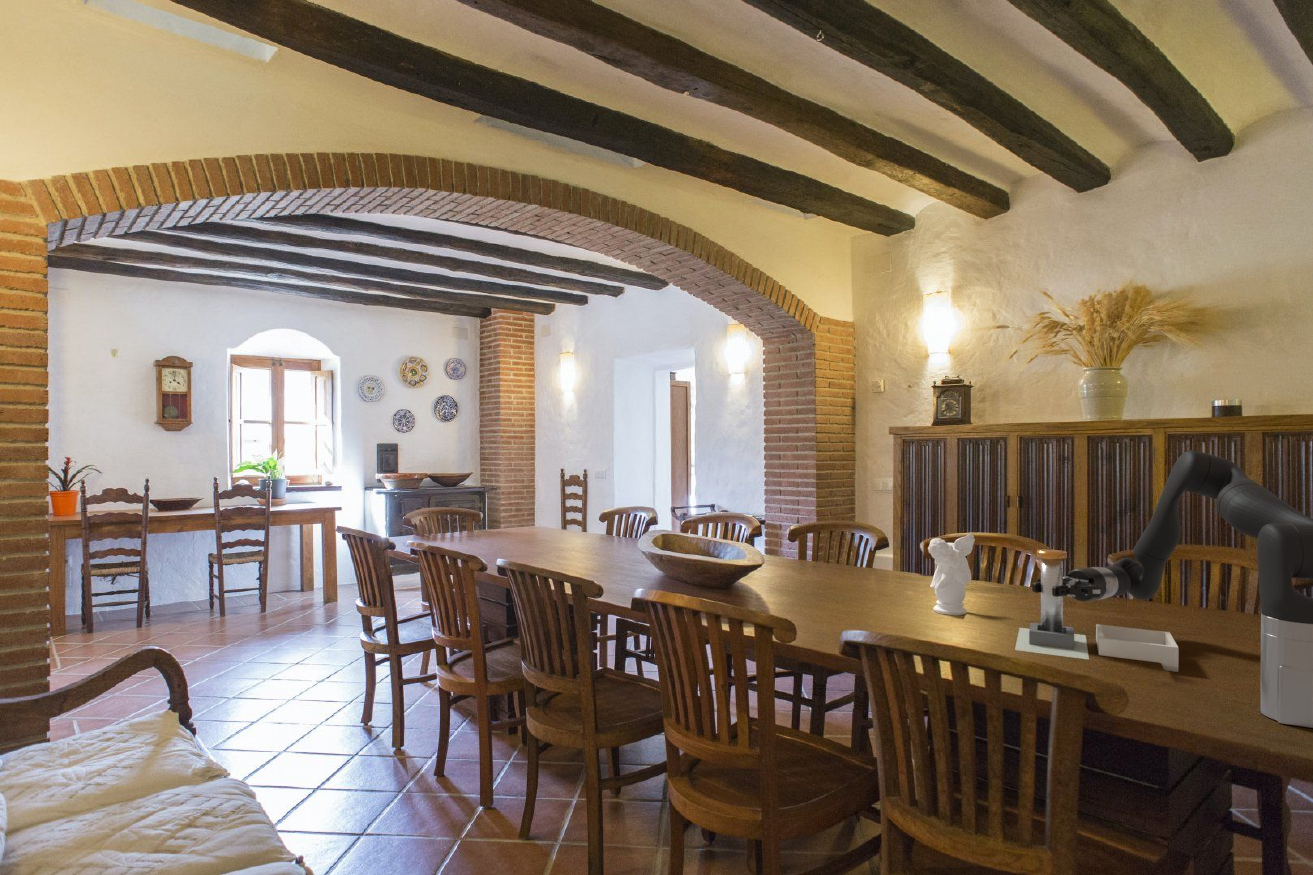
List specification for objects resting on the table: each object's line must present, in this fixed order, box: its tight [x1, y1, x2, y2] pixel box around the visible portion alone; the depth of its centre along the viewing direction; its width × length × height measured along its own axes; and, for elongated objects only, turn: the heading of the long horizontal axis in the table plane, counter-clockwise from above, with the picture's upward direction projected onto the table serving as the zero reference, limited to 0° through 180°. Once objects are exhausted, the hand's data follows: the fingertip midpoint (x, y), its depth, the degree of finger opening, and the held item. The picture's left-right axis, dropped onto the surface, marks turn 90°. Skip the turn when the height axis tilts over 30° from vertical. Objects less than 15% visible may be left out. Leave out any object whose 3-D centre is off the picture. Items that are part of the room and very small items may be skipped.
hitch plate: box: [1014, 622, 1090, 660], centre depth 168 cm, size 22×14×4 cm, turn 151°
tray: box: [1095, 623, 1180, 673], centre depth 161 cm, size 14×14×5 cm
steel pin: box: [1036, 548, 1068, 633], centre depth 168 cm, size 6×6×18 cm
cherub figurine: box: [927, 532, 976, 616], centre depth 206 cm, size 12×12×22 cm
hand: (1044, 589), depth 167 cm, fingers closed on steel pin, 4 cm apart
